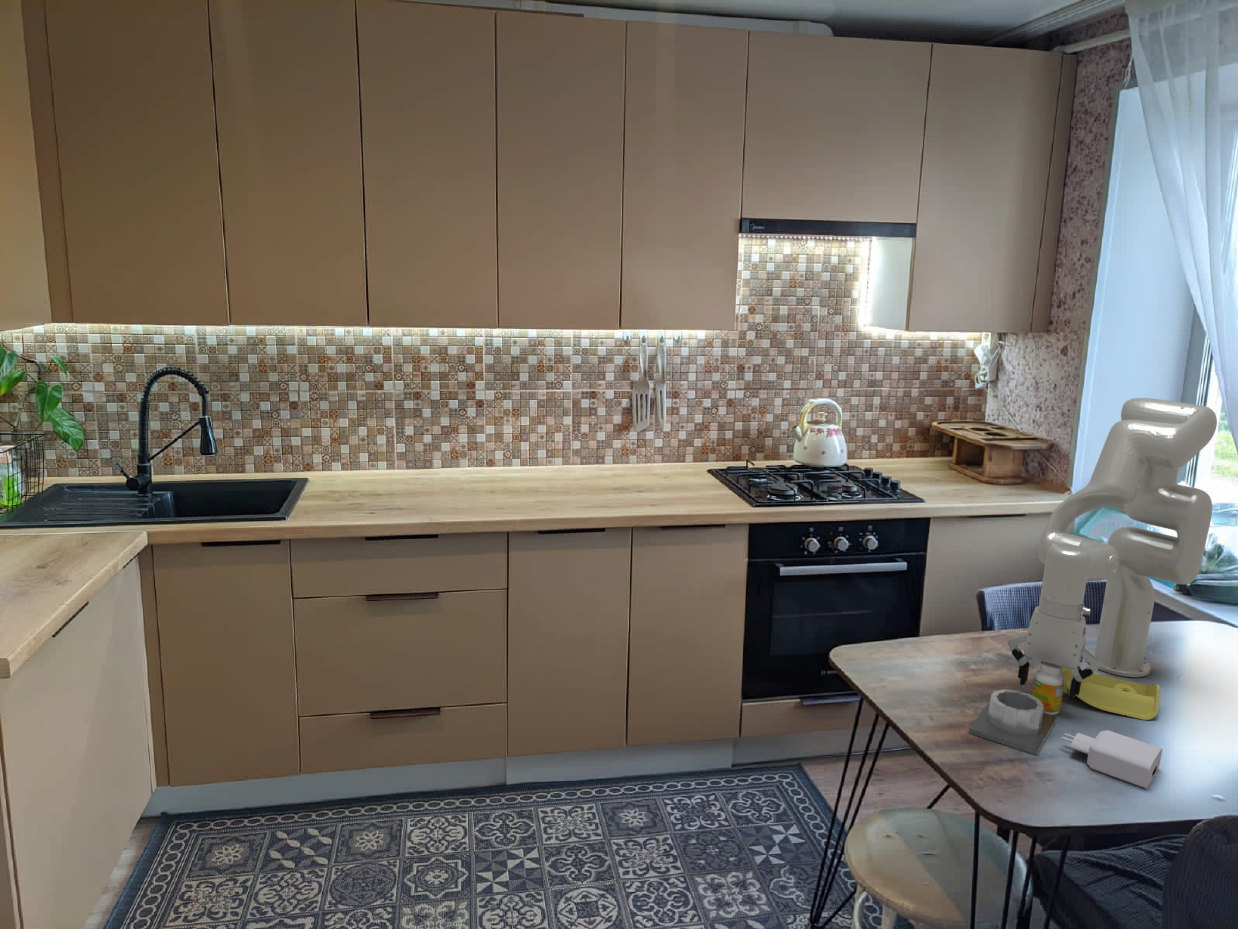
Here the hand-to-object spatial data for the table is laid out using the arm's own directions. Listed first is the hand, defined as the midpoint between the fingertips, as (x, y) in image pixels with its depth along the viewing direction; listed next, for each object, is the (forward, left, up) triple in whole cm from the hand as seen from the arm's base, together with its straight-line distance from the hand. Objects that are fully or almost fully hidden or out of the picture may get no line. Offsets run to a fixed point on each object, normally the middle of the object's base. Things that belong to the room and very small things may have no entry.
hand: (1047, 689), depth 179 cm
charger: (+14, +13, -5) cm, 20 cm away
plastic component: (-12, +8, -5) cm, 15 cm away
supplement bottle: (0, 0, -5) cm, 5 cm away
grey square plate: (+12, -3, -4) cm, 13 cm away
